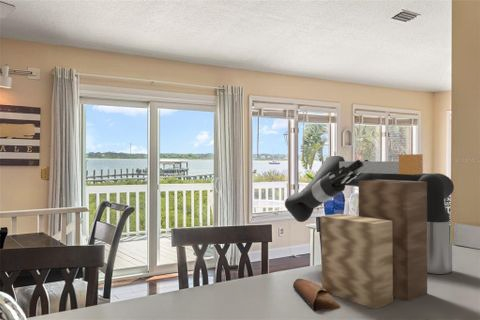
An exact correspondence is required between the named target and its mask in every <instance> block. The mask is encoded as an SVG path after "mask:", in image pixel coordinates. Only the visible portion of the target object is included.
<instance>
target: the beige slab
mask: <svg viewBox="0 0 480 320" xmlns="http://www.w3.org/2000/svg"><path fill="white" fill-rule="evenodd" d="M321 287H323V288H324V289H326V290H327V293H328V294H330V295H331V296H332V295H333V296H335V297H339V298H342V299H344V300H347V301H351V302H353V303H356V304H359V305H363V306H365V307H368V308H371V309H378V308H381V307H383V306H386V305H389V304H391V303H393V302H394V301H393V300H394V299H393V298H394V297H393V252H392V221H390V220H383V219H375V218H368V217H360V216H359V215H351V214H344V213H335V214H329V215H327V214H326V215H322V216H321Z"/></svg>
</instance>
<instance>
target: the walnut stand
mask: <svg viewBox="0 0 480 320" xmlns="http://www.w3.org/2000/svg"><path fill="white" fill-rule="evenodd" d="M358 216H360V217H368V218H375V219H383V220H390V221H392V252H393V298H398V299H401V300H404V301H406V302H409V301H411V300H414V299H417V298H420V297H422V296H424V295H427V294H428V272H427V182H420V181H398V180H364V181H359V187H358Z"/></svg>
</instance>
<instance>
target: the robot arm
mask: <svg viewBox="0 0 480 320" xmlns="http://www.w3.org/2000/svg"><path fill="white" fill-rule="evenodd" d="M339 161H346V160H345V158H344V157H343V156H341V155H331V156H329V157H327V158H326V159H325V160H324V161H323V162H322V164H321V165H320V167H319V168H318V170H317V172H316V174H315V175H314V177H312V179H311V180H310V182H309V183H308V184H307V185H306V186H305V187H304V188H303V189H302V190H301V191H300V192H296V193H293V194H291V195H288V196H287V198H286V199H285V202H284V206H285V208H286V210H287V211H288V212H289V214H291V216H293V218H294V219H295V220H296V221H297V222H299V223H304V222H306V221H308V220H309V219H310V218H311V216H312V214H313V212H314V209H315V208H318V207H319V206H321V205H323V204H324V203H326V202H328V201H330V200H331V199H333V198H335V197H336V196H338V195H339V194H341V193H343V192H344V191H345V190H346V186H349V187H351V186H352V187H358V188H359V181H364V180H398V181H420V182H427V274H435V275H445V274H446V275H447V274H449V273H453V244H452V243H450V213H449V212H448V211H447V210H446V208H445V207H446V206H445V199H446V198H448V197H450V196H451V195H452V194H453V193H454V190H455V186H454V182H453V180H452V179H451V178H450V177H449V176H447V175H446V174H443V173H437V172H436V173H424V172H423V174H384V173H353V171H355V170H357V169H358V168H360V167H361V166H362V163H361V161H362V160H360V159H356V160H355V162H354V163H352V164H351V165H348V166H346V167H345V166H343V167H341V168H339ZM364 161H369V159H364Z"/></svg>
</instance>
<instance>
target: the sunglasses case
mask: <svg viewBox="0 0 480 320" xmlns="http://www.w3.org/2000/svg"><path fill="white" fill-rule="evenodd" d="M292 284H293V285H292V288H293V290H295V291H296V292H297V293H298V294H299V295H300V296H301V297H302V298H303V299H304V300H305V301H306V302H307V303H308V305H309V306H310V307H311V308H312V309H313V310H314V312H315V311H327V310H337V309H342V307H341V305H340V304H339V302H338V301H337V300H336V299H335V298H334V297H333V296H332V294H329V293H327V290H326V289H324V288H323V287H322V285H319V284H317V283H315V282H313V281H311V280H307V279H305V278H296V279H295V281H294V282H293V283H292Z"/></svg>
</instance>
